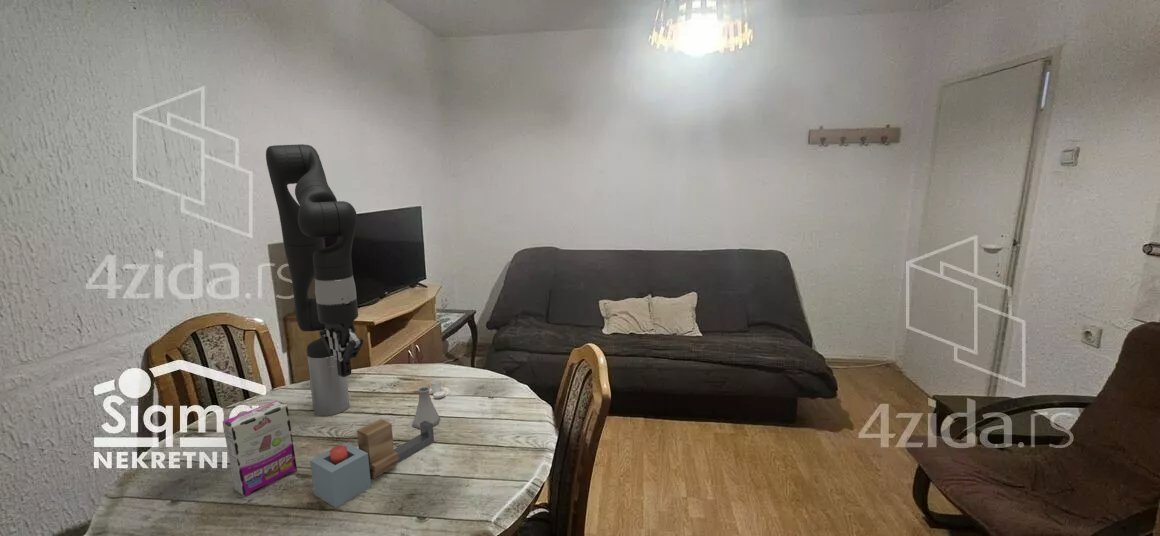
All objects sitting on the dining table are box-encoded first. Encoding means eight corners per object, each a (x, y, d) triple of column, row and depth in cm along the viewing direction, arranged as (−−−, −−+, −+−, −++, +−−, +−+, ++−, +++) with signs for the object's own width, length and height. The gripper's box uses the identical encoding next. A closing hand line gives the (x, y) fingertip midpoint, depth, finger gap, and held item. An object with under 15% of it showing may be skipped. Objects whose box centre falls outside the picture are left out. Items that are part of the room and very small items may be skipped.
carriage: (357, 469, 109) (352, 428, 107) (380, 456, 114) (376, 417, 112) (376, 479, 105) (371, 437, 103) (399, 465, 110) (395, 425, 108)
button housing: (314, 494, 101) (309, 460, 100) (349, 474, 108) (345, 442, 107) (335, 508, 97) (331, 472, 96) (371, 486, 104) (367, 453, 102)
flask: (431, 431, 127) (429, 395, 125) (407, 428, 128) (404, 393, 126) (444, 417, 134) (442, 384, 132) (421, 415, 135) (418, 382, 133)
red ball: (328, 463, 101) (326, 450, 100) (342, 456, 104) (341, 443, 103) (337, 468, 99) (335, 455, 99) (351, 460, 102) (349, 448, 101)
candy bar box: (286, 464, 112) (277, 399, 109) (297, 470, 110) (289, 404, 107) (232, 490, 103) (221, 420, 100) (243, 498, 100) (232, 426, 97)
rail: (356, 478, 107) (353, 458, 106) (426, 438, 123) (424, 420, 122) (364, 482, 105) (362, 462, 104) (434, 441, 121) (432, 423, 120)
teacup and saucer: (445, 401, 144) (444, 388, 144) (419, 401, 145) (418, 388, 144) (453, 388, 153) (452, 376, 152) (428, 388, 153) (427, 376, 152)
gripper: (301, 297, 100) (311, 374, 104) (337, 307, 93) (346, 389, 97) (335, 289, 106) (343, 362, 110) (372, 298, 99) (379, 376, 103)
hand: (345, 375), depth 103 cm, fingers closed
